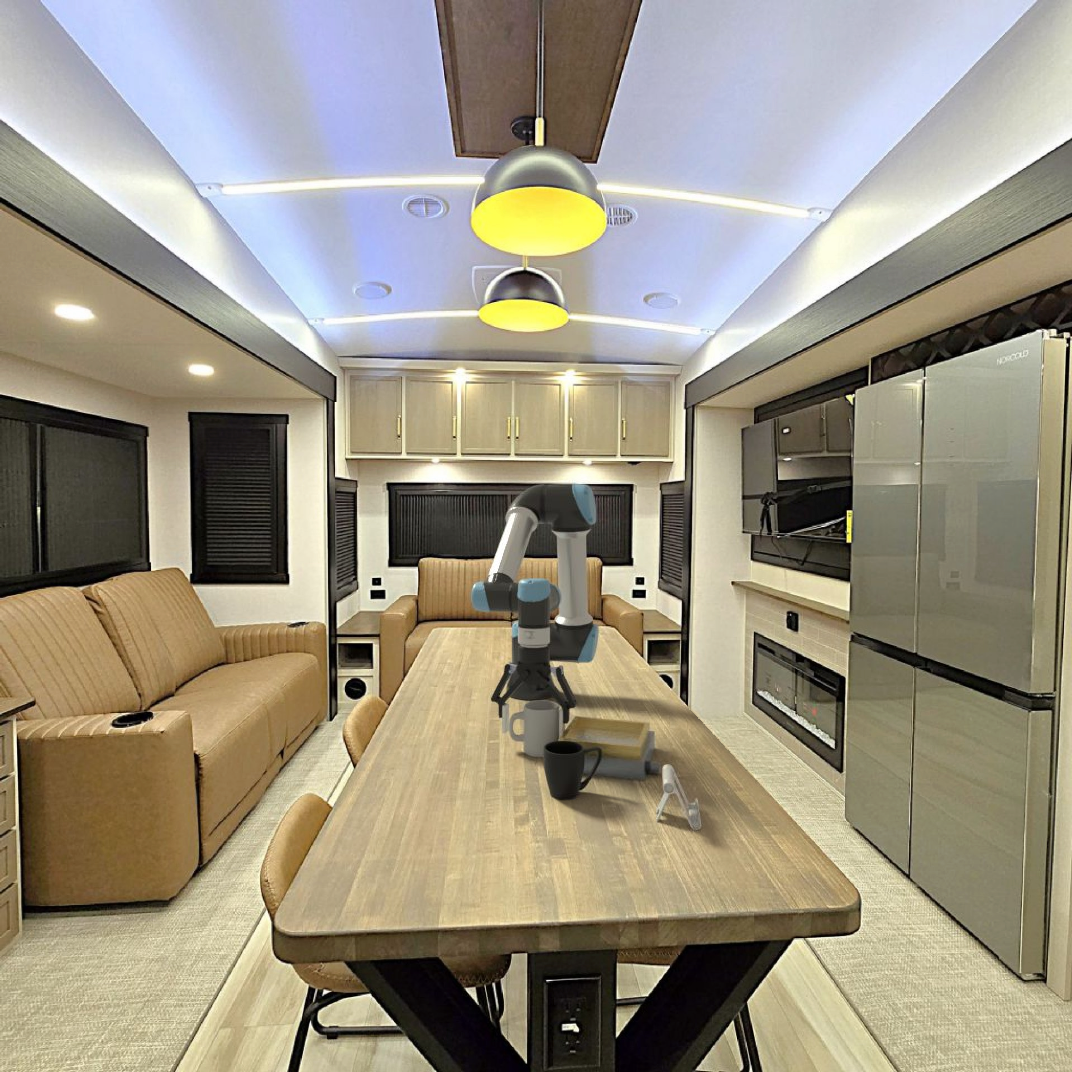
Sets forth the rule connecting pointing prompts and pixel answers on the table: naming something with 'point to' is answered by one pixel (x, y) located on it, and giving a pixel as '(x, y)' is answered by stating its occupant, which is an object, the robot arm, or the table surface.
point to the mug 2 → (567, 768)
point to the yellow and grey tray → (615, 746)
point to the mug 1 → (537, 726)
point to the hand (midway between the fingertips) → (533, 734)
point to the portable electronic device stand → (671, 788)
